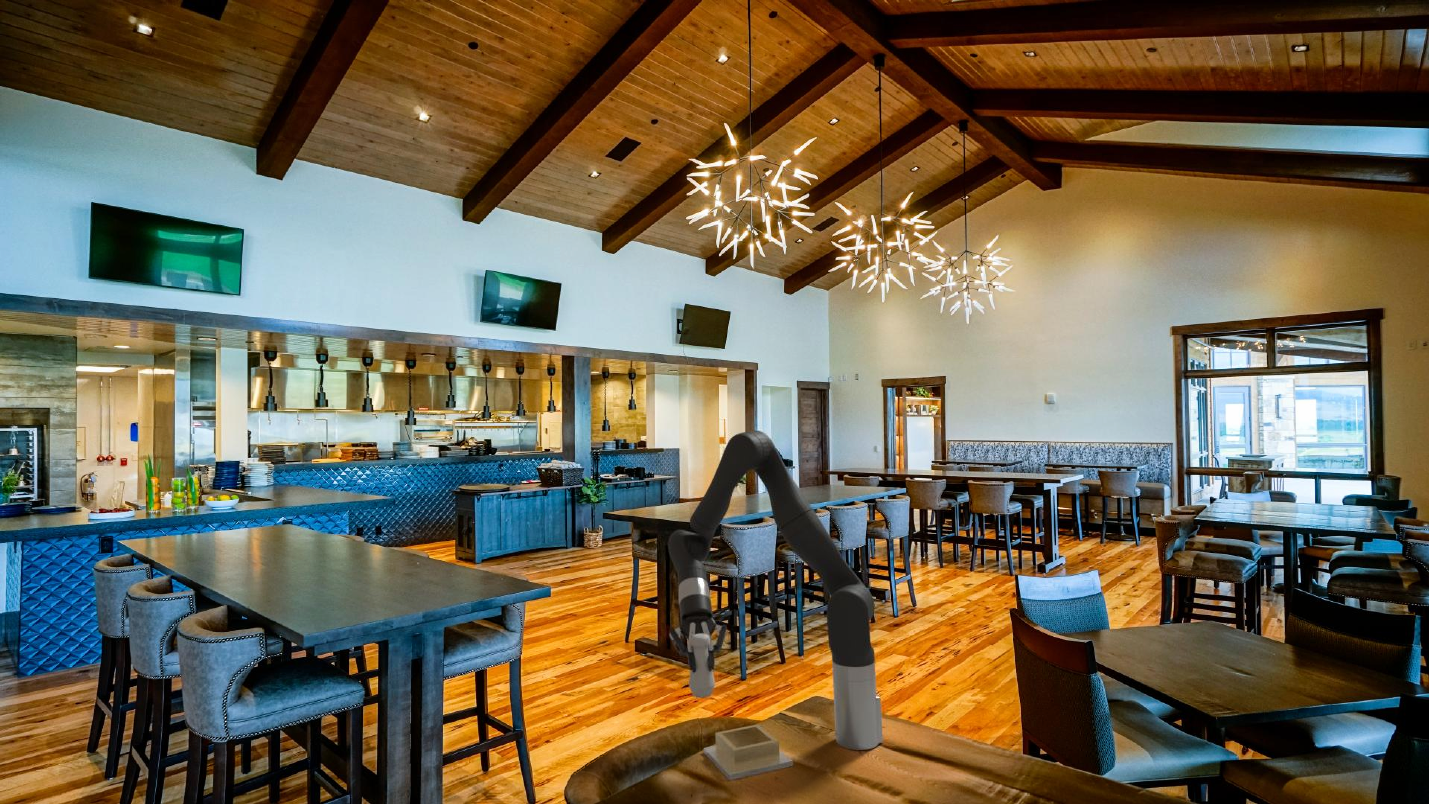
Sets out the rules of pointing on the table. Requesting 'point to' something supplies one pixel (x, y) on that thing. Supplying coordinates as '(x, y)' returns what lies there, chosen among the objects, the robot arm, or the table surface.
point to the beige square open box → (746, 752)
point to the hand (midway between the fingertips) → (702, 669)
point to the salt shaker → (701, 668)
